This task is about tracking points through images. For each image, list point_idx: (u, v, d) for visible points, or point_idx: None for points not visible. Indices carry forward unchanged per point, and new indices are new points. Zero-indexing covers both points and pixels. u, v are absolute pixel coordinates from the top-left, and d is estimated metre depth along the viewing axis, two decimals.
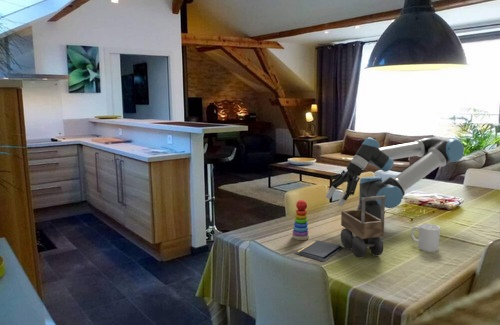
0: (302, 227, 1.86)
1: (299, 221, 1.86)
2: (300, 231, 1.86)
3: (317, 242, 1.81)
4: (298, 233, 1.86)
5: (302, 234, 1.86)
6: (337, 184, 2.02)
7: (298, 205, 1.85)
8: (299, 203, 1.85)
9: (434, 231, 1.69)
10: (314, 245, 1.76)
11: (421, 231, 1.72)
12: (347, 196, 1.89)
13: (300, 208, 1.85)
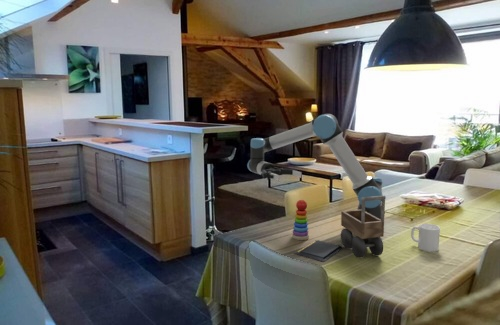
0: (302, 227, 1.86)
1: (299, 221, 1.86)
2: (300, 231, 1.86)
3: (317, 242, 1.81)
4: (298, 233, 1.86)
5: (302, 234, 1.86)
6: (288, 172, 2.04)
7: (298, 205, 1.85)
8: (299, 203, 1.85)
9: (434, 231, 1.69)
10: (314, 245, 1.76)
11: (421, 231, 1.72)
12: (269, 176, 1.94)
13: (300, 208, 1.85)
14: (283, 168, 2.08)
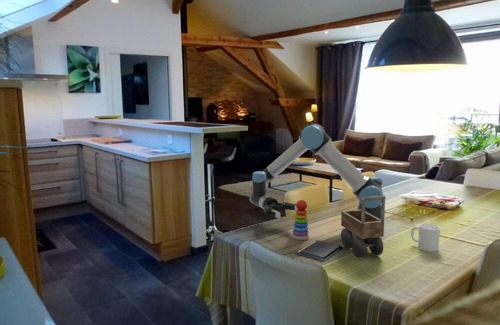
0: (302, 227, 1.86)
1: (299, 221, 1.86)
2: (300, 231, 1.86)
3: (317, 242, 1.81)
4: (298, 233, 1.86)
5: (302, 234, 1.86)
6: (290, 207, 2.04)
7: (298, 205, 1.85)
8: (299, 203, 1.85)
9: (434, 231, 1.69)
10: (314, 245, 1.76)
11: (421, 231, 1.72)
12: (271, 213, 1.95)
13: (300, 208, 1.85)
14: (285, 203, 2.09)
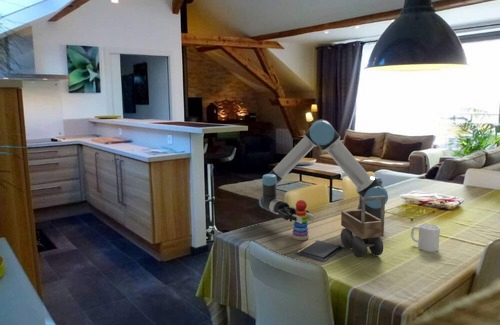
0: (302, 227, 1.86)
1: None
2: (300, 231, 1.86)
3: (317, 242, 1.81)
4: (298, 233, 1.86)
5: (302, 234, 1.86)
6: None
7: (298, 205, 1.85)
8: (299, 203, 1.85)
9: (434, 231, 1.69)
10: (314, 245, 1.76)
11: (421, 231, 1.72)
12: (292, 218, 1.86)
13: (300, 208, 1.85)
14: None
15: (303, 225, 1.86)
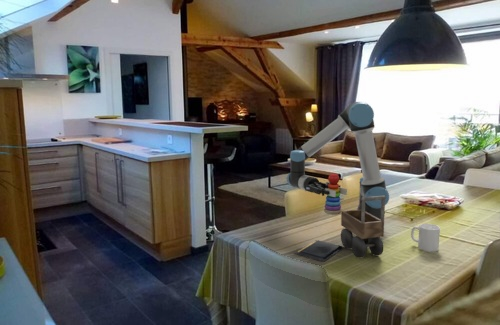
0: (335, 201, 1.80)
1: None
2: (333, 205, 1.81)
3: (317, 242, 1.81)
4: (331, 207, 1.81)
5: (335, 208, 1.81)
6: None
7: (330, 178, 1.80)
8: (331, 176, 1.80)
9: (434, 231, 1.69)
10: (314, 245, 1.76)
11: (421, 231, 1.72)
12: (324, 192, 1.81)
13: (332, 181, 1.80)
14: (327, 183, 1.93)
15: (336, 199, 1.80)
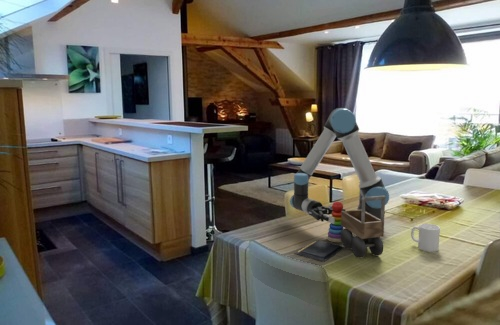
0: (338, 229, 1.82)
1: (335, 223, 1.82)
2: (336, 233, 1.83)
3: (317, 242, 1.81)
4: (334, 235, 1.83)
5: (338, 236, 1.83)
6: None
7: (334, 207, 1.82)
8: (335, 205, 1.82)
9: (434, 231, 1.69)
10: (314, 245, 1.76)
11: (421, 231, 1.72)
12: (323, 218, 1.82)
13: (336, 210, 1.82)
14: (331, 207, 1.96)
15: (339, 227, 1.82)
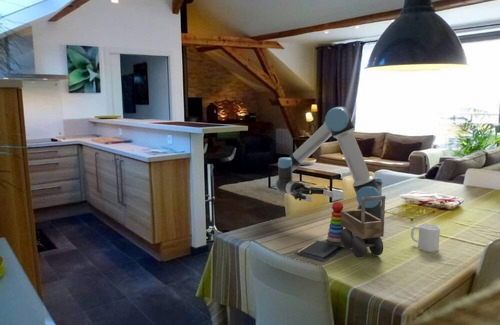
0: (338, 229, 1.82)
1: (335, 223, 1.82)
2: (336, 233, 1.83)
3: (317, 242, 1.81)
4: (334, 235, 1.83)
5: (338, 236, 1.83)
6: (319, 191, 2.02)
7: (334, 207, 1.82)
8: (335, 205, 1.82)
9: (434, 231, 1.69)
10: (314, 245, 1.76)
11: (421, 231, 1.72)
12: (301, 197, 1.93)
13: (336, 210, 1.82)
14: (313, 187, 2.07)
15: (339, 227, 1.82)
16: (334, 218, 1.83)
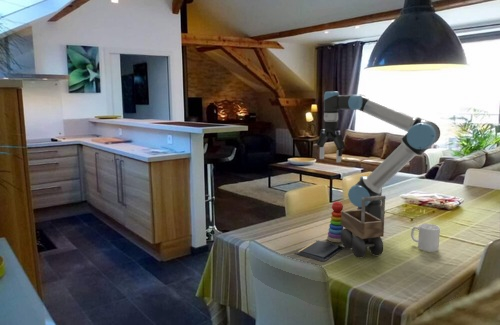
0: (338, 229, 1.82)
1: (335, 223, 1.82)
2: (336, 233, 1.83)
3: (318, 242, 1.81)
4: (334, 235, 1.83)
5: (338, 236, 1.83)
6: (323, 143, 2.16)
7: (334, 207, 1.82)
8: (335, 205, 1.82)
9: (434, 231, 1.69)
10: (315, 246, 1.76)
11: (421, 231, 1.72)
12: (341, 152, 2.05)
13: (336, 210, 1.82)
14: (325, 133, 2.16)
15: (339, 227, 1.82)
16: (334, 218, 1.83)
